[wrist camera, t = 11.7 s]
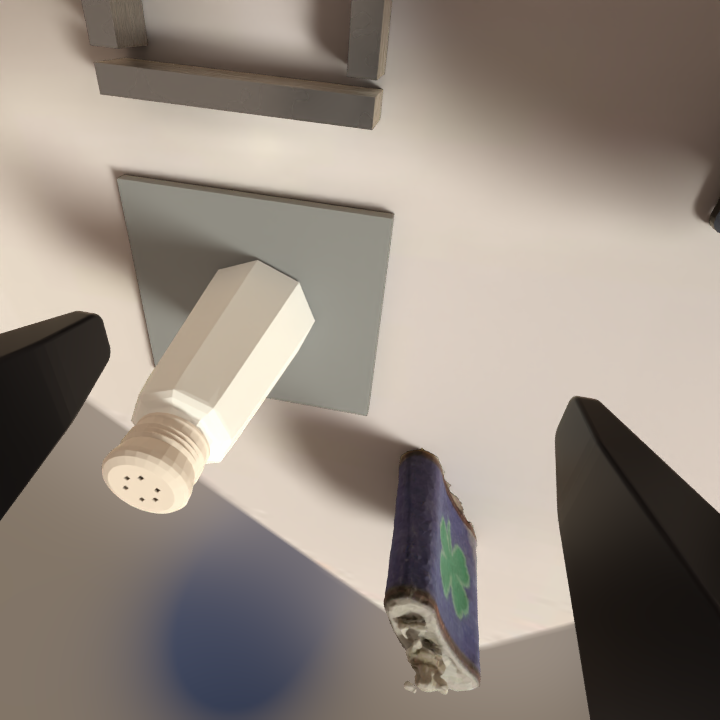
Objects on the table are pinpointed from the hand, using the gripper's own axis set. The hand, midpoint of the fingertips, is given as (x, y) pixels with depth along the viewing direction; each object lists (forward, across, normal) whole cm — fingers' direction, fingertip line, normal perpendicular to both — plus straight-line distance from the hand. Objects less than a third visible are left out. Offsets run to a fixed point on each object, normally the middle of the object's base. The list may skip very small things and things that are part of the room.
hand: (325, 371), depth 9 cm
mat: (+13, +6, +7) cm, 16 cm away
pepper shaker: (+12, +6, +7) cm, 15 cm away
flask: (+13, -5, +19) cm, 24 cm away
